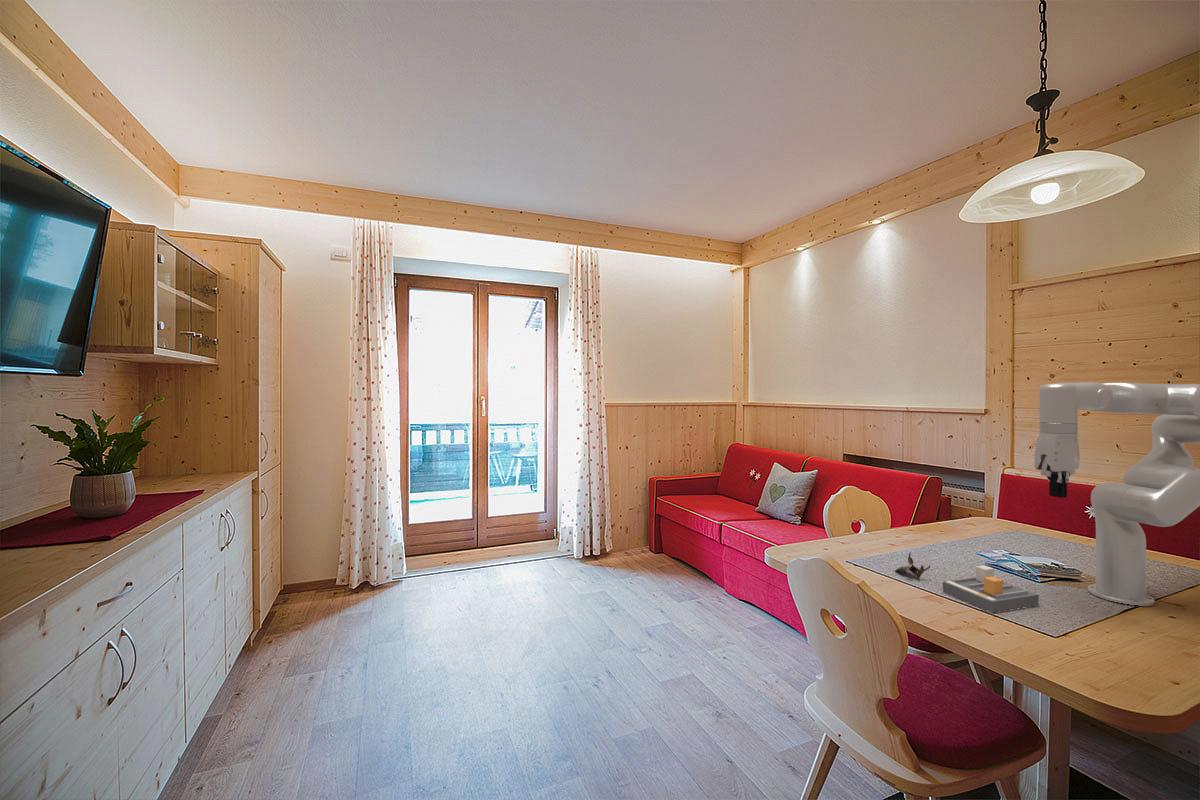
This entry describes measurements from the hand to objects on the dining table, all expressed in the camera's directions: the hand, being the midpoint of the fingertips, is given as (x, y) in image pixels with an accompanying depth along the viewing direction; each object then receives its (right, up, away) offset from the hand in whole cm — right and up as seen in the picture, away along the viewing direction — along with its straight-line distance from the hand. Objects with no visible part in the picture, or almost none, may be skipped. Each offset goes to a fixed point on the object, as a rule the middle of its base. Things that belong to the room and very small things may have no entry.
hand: (1058, 496), depth 132 cm
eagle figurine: (-26, -29, +22) cm, 45 cm away
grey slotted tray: (-16, -29, +4) cm, 33 cm away
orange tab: (-18, -26, 0) cm, 32 cm away
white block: (-14, -26, +8) cm, 30 cm away
